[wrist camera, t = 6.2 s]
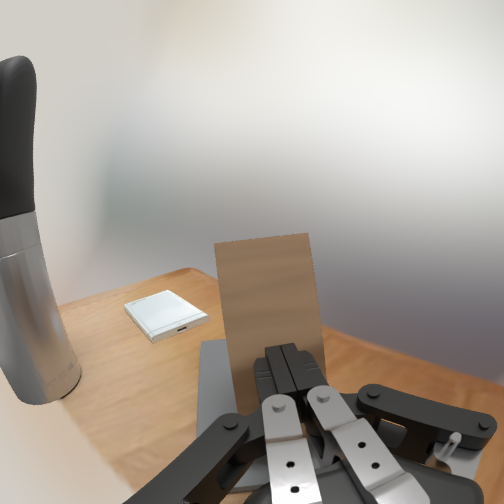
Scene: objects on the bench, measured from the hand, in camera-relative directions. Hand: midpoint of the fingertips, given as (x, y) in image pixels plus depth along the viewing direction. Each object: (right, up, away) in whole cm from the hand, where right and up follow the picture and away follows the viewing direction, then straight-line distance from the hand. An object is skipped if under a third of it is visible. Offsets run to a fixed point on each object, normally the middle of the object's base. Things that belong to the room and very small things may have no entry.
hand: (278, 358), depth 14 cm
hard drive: (-14, -4, +24) cm, 28 cm away
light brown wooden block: (+1, -6, +2) cm, 6 cm away
